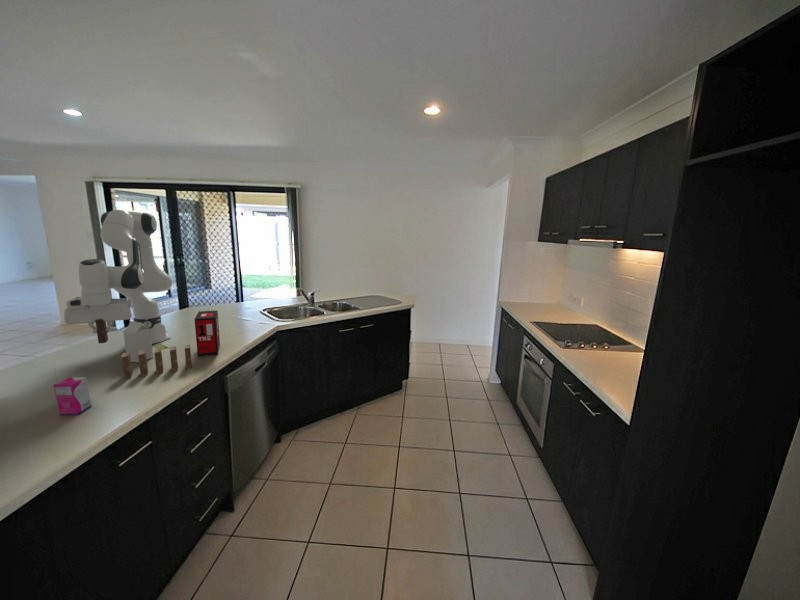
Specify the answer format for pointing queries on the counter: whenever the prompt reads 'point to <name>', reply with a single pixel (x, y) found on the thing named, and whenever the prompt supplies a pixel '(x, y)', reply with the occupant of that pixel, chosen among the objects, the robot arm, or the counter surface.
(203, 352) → the cleaning product box
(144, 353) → the tile
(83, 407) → the supplement box
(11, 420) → the counter surface
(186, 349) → the tile
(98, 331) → the tile
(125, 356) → the tile
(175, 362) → the tile
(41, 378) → the counter surface
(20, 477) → the counter surface
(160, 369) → the tile
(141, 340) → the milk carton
